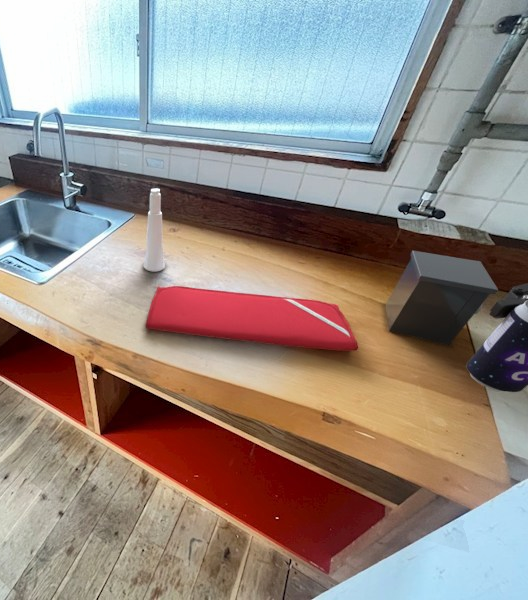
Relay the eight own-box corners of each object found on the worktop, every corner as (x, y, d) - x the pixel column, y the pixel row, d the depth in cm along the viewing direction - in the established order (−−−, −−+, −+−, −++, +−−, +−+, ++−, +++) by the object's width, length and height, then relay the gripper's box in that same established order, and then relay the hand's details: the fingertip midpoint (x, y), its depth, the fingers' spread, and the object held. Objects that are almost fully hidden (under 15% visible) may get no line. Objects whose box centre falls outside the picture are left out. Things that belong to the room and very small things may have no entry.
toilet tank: (441, 316, 71) (480, 261, 62) (452, 347, 63) (498, 290, 55) (382, 303, 75) (412, 250, 67) (386, 331, 68) (420, 275, 59)
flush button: (471, 308, 64) (480, 297, 62) (475, 316, 62) (484, 305, 60) (453, 305, 65) (461, 294, 64) (456, 312, 63) (465, 301, 62)
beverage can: (475, 391, 43) (539, 323, 36) (454, 360, 47) (508, 294, 40) (530, 400, 41) (608, 331, 34) (503, 368, 46) (568, 300, 38)
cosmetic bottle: (139, 265, 93) (138, 189, 80) (156, 259, 96) (157, 184, 82) (152, 274, 89) (152, 195, 76) (169, 267, 92) (172, 190, 78)
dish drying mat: (157, 290, 82) (157, 278, 80) (333, 310, 74) (338, 297, 72) (145, 331, 70) (145, 318, 68) (353, 360, 62) (361, 346, 59)
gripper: (599, 257, 43) (482, 269, 42) (789, 328, 31) (634, 347, 30) (556, 302, 47) (450, 313, 46) (709, 378, 36) (572, 396, 34)
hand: (523, 326), depth 38 cm, fingers closed on beverage can, 5 cm apart
